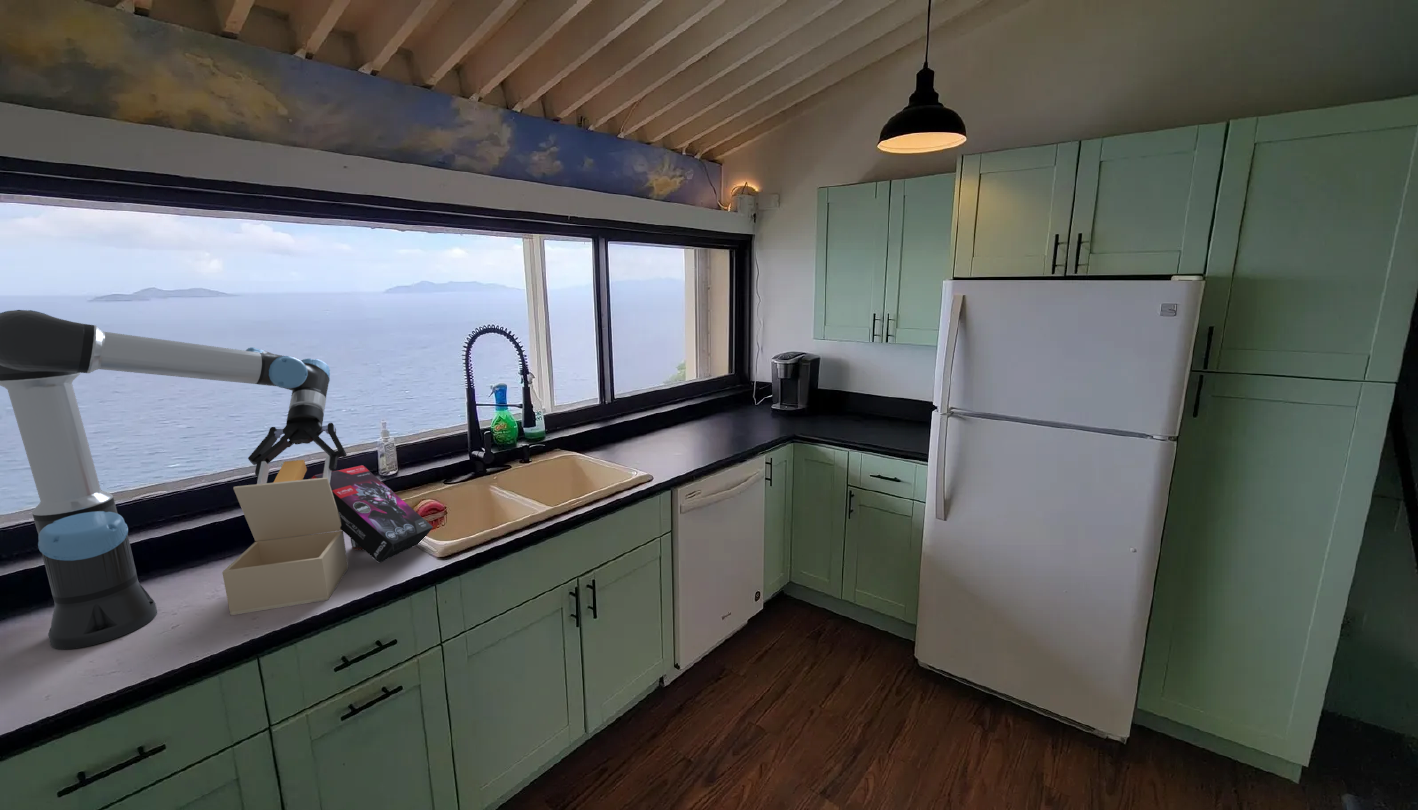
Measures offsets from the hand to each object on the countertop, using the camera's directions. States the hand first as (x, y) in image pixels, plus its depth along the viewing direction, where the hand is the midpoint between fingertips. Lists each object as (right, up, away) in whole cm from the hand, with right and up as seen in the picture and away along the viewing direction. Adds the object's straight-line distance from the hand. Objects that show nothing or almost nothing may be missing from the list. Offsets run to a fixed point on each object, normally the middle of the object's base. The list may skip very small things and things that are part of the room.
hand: (294, 484), depth 133 cm
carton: (+3, -24, -4) cm, 24 cm away
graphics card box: (+22, -17, +10) cm, 30 cm away
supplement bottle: (+6, -20, +18) cm, 27 cm away
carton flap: (+1, -6, -3) cm, 6 cm away
